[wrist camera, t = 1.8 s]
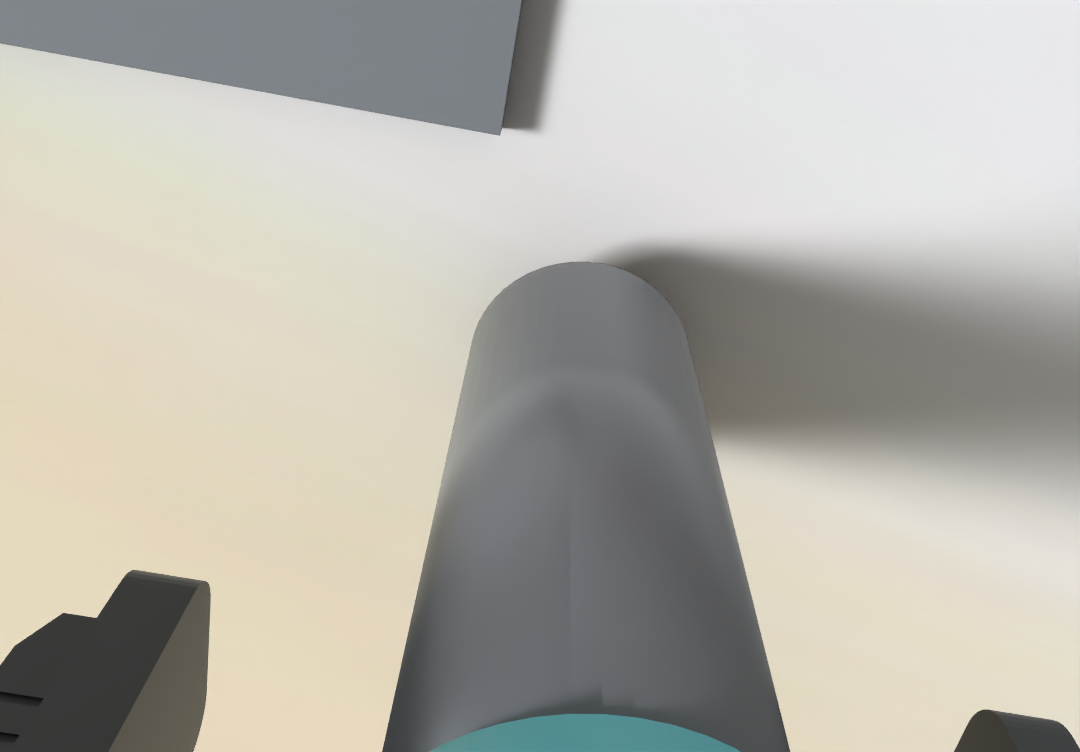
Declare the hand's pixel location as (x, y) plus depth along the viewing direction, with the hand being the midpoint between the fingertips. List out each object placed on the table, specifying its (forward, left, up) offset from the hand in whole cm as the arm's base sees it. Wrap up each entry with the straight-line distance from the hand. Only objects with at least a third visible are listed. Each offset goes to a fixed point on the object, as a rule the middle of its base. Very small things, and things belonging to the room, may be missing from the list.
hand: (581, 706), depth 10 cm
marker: (0, 0, -9) cm, 9 cm away
